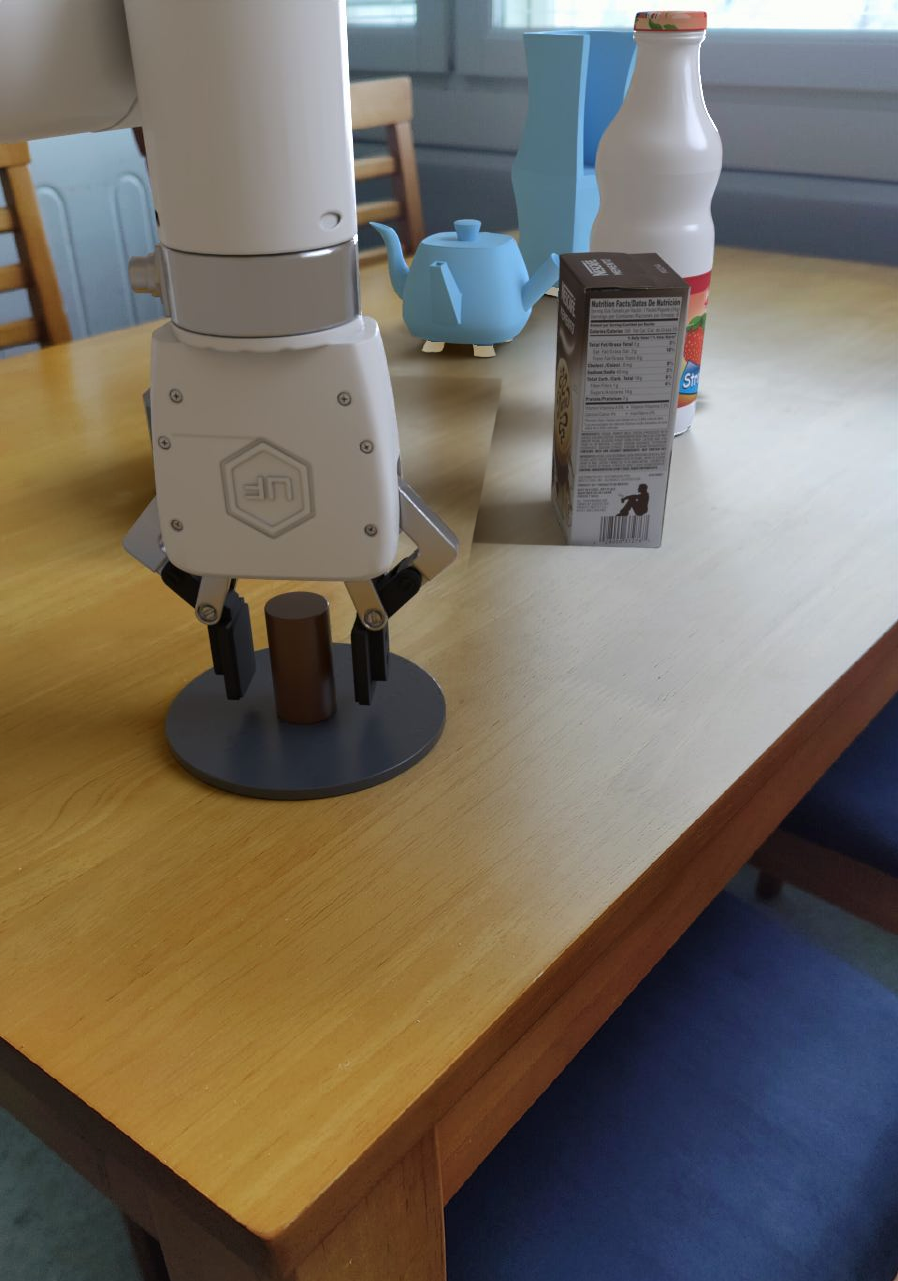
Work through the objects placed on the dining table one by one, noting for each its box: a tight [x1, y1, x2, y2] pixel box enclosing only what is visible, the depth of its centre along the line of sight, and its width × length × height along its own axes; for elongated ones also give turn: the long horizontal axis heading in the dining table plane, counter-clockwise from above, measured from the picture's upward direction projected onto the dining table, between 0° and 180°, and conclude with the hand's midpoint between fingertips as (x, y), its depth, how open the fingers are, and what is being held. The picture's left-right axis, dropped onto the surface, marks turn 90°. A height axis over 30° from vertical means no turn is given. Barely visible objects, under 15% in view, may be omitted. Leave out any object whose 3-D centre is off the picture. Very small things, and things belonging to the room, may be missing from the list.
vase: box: [510, 29, 637, 288], centre depth 127 cm, size 10×10×25 cm
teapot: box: [369, 218, 560, 346], centre depth 110 cm, size 15×14×11 cm
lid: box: [165, 590, 447, 801], centre depth 54 cm, size 14×14×7 cm
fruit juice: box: [588, 10, 724, 433], centre depth 85 cm, size 9×9×28 cm
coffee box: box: [550, 252, 691, 549], centre depth 72 cm, size 9×6×16 cm
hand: (304, 685), depth 55 cm, fingers open, 5 cm apart
